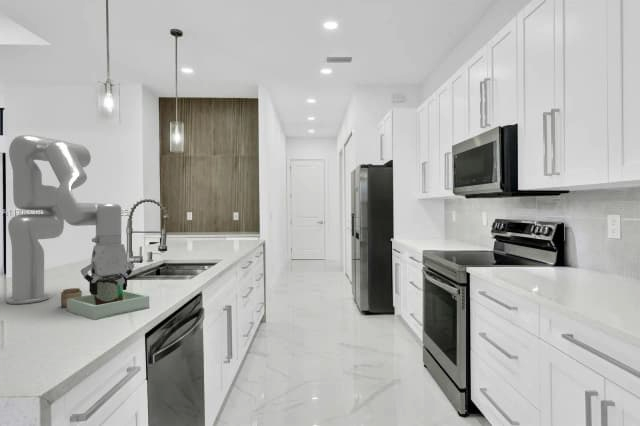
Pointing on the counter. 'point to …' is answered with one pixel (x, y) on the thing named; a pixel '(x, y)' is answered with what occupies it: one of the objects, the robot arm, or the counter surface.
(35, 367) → the counter surface
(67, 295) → the salt cellar
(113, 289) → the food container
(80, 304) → the bin
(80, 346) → the counter surface
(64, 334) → the counter surface
